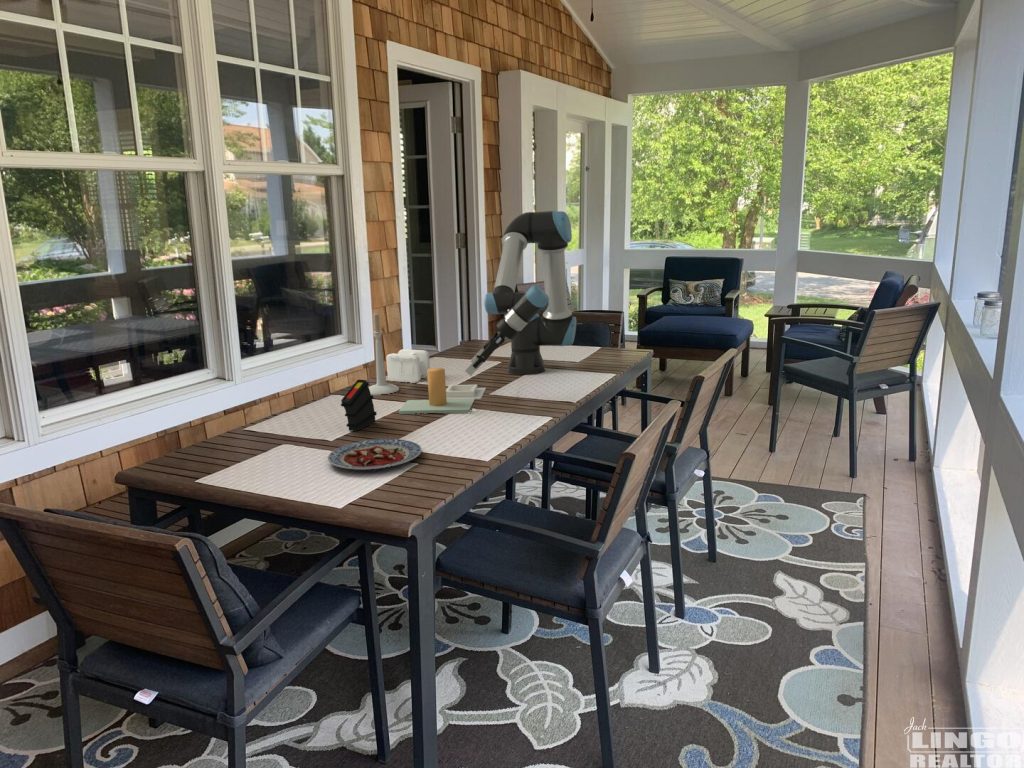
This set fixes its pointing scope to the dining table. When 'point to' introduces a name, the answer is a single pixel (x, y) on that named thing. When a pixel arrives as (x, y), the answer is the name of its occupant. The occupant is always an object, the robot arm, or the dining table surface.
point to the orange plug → (437, 387)
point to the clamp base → (464, 392)
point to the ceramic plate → (374, 454)
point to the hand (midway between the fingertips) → (470, 368)
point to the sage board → (425, 408)
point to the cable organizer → (408, 365)
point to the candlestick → (380, 365)
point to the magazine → (359, 406)
